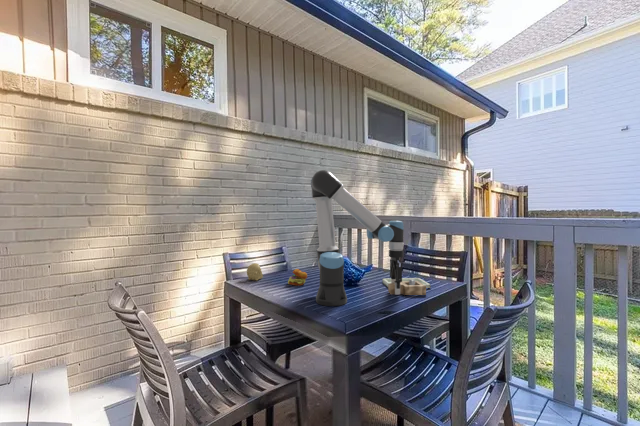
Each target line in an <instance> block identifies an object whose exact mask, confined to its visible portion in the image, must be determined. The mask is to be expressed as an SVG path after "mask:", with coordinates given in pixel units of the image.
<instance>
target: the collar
mask: <svg viewBox="0 0 640 426" xmlns="http://www.w3.org/2000/svg"><path fill="white" fill-rule="evenodd" d="M387 289H388V290H387V291H388V292H389V293H390V294H389V293H388V294H389V295H395V283H388V287H387ZM400 295H404V296H405V295H426V296H427V289H426V286H425V285H423V284H422V283H420V282H419V281H415V285H409V281H402V282H400Z"/></svg>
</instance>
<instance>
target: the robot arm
mask: <svg viewBox="0 0 640 426" xmlns="http://www.w3.org/2000/svg"><path fill="white" fill-rule="evenodd" d="M311 177H312V178H311V180H310V188H311V195H312V200H314V201H315V208H316V221H317V231H318V243H319V246H318V248H317V249H316V254H317V256H316V257H317V260H316V263H317V267H318V269H319V287H318V290H317V292H316V296H315V302H316V303H317V304H318V305H320V306H325V307H326V306H327V307H338V306H339V307H340V306H343V305H344V306H345V305H346V304H347V303H348V296H347V293H346V290H345V289H346V288H345V286H344V266H345V265H344V264H345V260H344V255H343V254H341V253H340V249H339V247H338V246H337V245H336V234H335V221H334V209H333V200H334V201H335V202H336V203H337V205H339V207H340V206H341V207H342V208H343V209H344V210H345V211H346V212H348V214H350V215H351V217H352V218H355V220H356V221H358V222H359V223H360V224H361V225H362V226H363V227H364V228H366V238H367V239H373V240H375V239H376V240H379V241H380V242H383V243H384V242H385V243H386V242H388V249H389V250H388V257H390V258H391V259H389V262H390V263H389V264H390V265H389V278H391V283H395V294H394V295H401V294H400V282H402V278H403V263H402V262H401V259H402V258H403V257H404V245H405V243H404V232H405V229H404V227H405V226H404V222H403V221H402V220H390V221H388V224H385V222H383V221H382V220H381V219H380V218H379V217H378V216H376V214H374V213H373V212H372V211H371V210H370V209H369V208H367V207H366V206H365V205H364V204H363V203H362V202H361V201H360V200H358V199H357V198H356V197H355V196H353V194H351V192H349V191H348V190H347V189H346V188H345V187H344V184H343V183H342V181H340V180H339V179H338V178H337V177H336V176H335V175H334V174H333V173H332V172H331V171H329V170H326V169H321V170H318V171H316V172H315V173H314V174H313V176H311Z"/></svg>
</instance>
